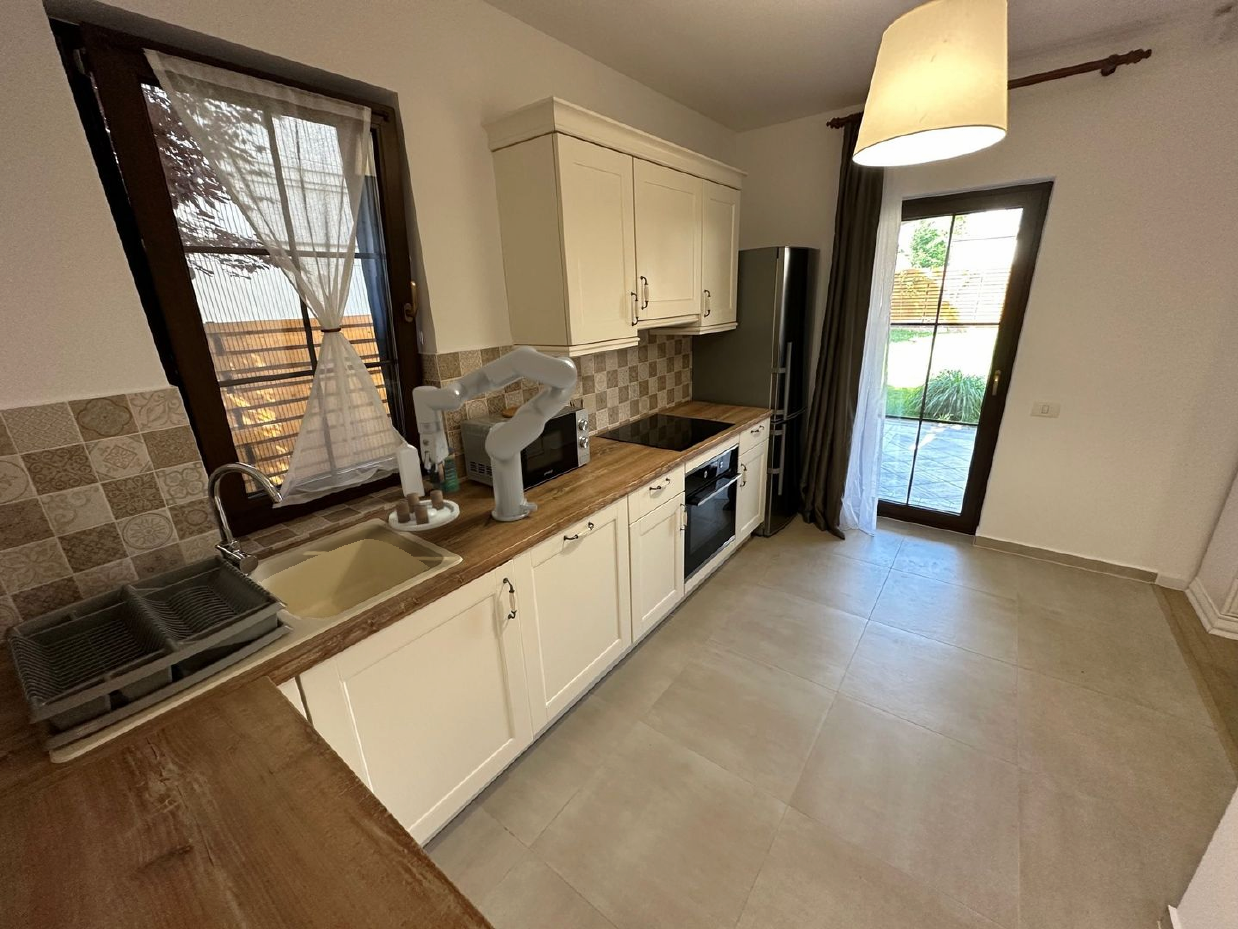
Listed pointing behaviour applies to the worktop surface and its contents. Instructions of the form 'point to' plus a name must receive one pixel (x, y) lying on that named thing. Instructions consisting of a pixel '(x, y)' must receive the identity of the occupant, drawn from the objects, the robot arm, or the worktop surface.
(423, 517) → the brown round peg
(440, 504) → the brown cylinder
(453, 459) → the coffee jar
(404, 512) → the brown round peg
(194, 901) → the worktop surface
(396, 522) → the groove tray
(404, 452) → the milk
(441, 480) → the tan rounded cylinder
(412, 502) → the seated bead
